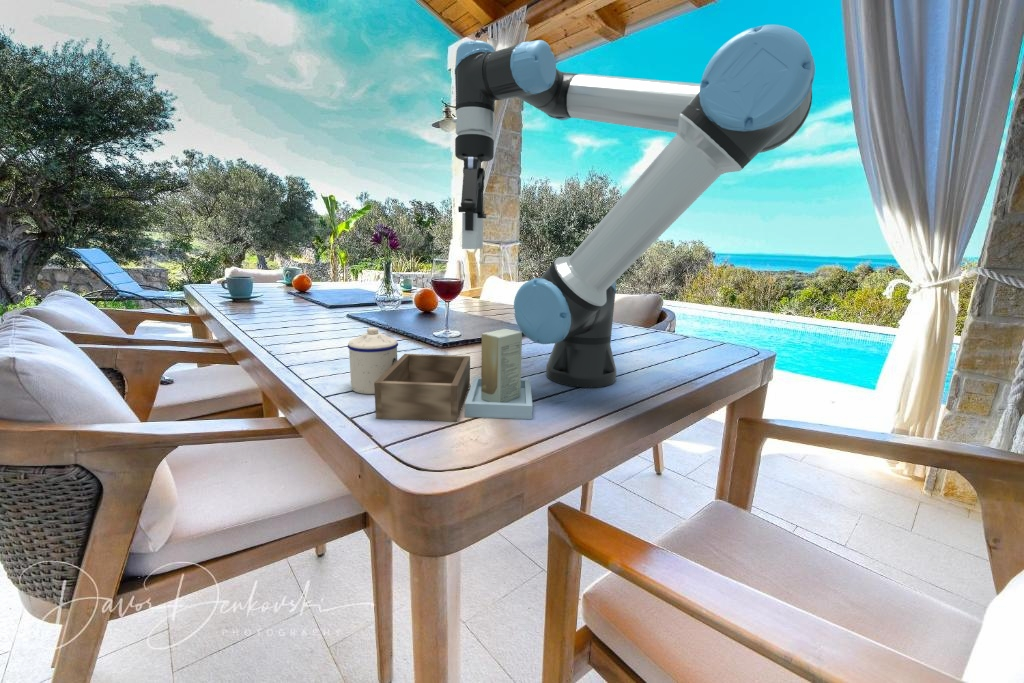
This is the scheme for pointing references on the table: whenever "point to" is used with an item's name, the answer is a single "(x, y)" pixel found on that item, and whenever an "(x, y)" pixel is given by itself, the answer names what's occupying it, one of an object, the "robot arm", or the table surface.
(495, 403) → the tray
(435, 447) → the table surface
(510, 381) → the skincare box
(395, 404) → the caddy
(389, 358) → the cream lidded jar
